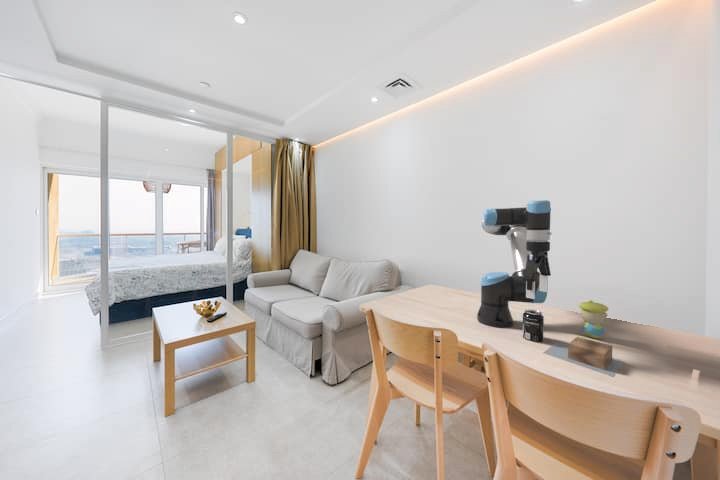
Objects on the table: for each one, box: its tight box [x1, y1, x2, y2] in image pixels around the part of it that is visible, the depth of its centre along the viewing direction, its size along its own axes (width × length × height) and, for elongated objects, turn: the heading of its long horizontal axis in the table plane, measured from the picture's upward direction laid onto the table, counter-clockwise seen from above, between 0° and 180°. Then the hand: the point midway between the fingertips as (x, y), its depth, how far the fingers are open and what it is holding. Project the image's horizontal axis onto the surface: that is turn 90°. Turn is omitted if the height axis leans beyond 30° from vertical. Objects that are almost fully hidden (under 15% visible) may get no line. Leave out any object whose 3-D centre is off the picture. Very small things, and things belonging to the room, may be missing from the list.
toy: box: [578, 300, 609, 339], centre depth 103 cm, size 8×9×15 cm
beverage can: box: [522, 308, 545, 343], centre depth 101 cm, size 7×7×12 cm
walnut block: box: [567, 336, 613, 370], centre depth 85 cm, size 9×9×5 cm
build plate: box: [542, 341, 626, 378], centre depth 87 cm, size 18×14×1 cm
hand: (537, 294), depth 100 cm, fingers open, 13 cm apart
